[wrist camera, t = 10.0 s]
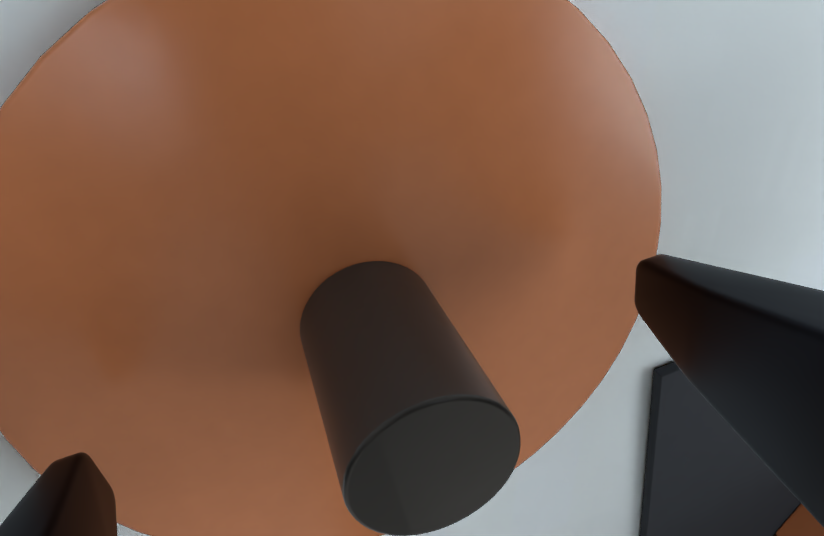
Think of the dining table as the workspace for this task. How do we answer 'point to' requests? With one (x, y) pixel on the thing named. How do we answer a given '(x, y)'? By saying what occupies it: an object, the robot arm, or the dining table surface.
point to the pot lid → (316, 254)
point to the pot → (801, 524)
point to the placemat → (704, 470)
